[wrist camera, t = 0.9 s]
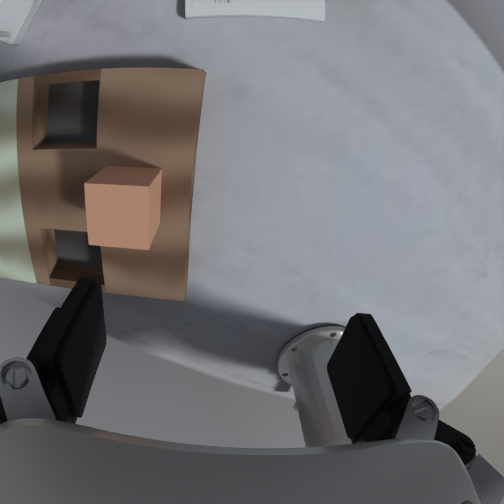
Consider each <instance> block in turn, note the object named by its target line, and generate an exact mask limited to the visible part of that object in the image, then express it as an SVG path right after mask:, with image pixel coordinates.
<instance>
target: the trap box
mask: <svg viewBox="0 0 504 504" xmlns="http://www.w3.org/2000/svg"><path fill="white" fill-rule="evenodd" d="M205 76H206V72H205V71H204V70H201V69H185V68H155V67H134V68H104V69H89V70H77V71H67V72H59V73H51V74H43V75H37V76H31V77H25V78H19V79H14V80H9V81H4V82H0V277H2V278H8V279H13V280H19V281H25V282H32V283H38V284H45V285H51V286H58V287H65V288H72V289H73V287H74V286H75V284H76V282H77V281H78V279H79V278H80V277H81V276H85V277H91V278H96V280H97V283H100V284H101V287H102V292H103V293H111V294H120V295H128V296H137V297H147V298H157V299H167V300H178V301H184V300H185V293H186V286H187V280H188V259H189V241H190V225H191V210H192V197H193V184H194V173H195V162H196V152H197V142H198V133H199V124H200V115H201V107H202V99H203V91H204V84H205ZM106 166H123V167H144V168H161V169H162V180H161V205H160V224H159V226H158V229H157V231H156V234H155V236H154V238H153V241H152V243H151V246H150V248H149V250H141V249H130V248H118V247H107V246H97V245H89V242H88V232H87V221H86V207H85V189H84V183H85V182H87V181H88V180H89V179H90V178H92V177H93V176H94V175H96V174H97V173H98V172H99V171H101V170H102V169H103V168H105V167H106Z"/></svg>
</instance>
